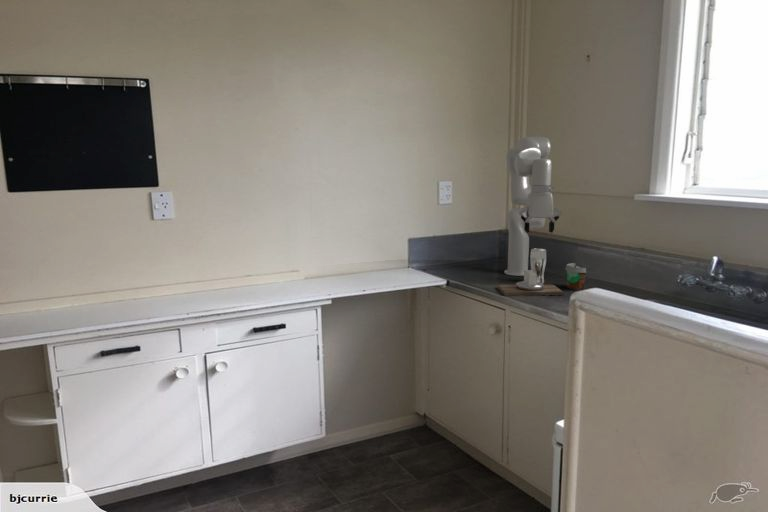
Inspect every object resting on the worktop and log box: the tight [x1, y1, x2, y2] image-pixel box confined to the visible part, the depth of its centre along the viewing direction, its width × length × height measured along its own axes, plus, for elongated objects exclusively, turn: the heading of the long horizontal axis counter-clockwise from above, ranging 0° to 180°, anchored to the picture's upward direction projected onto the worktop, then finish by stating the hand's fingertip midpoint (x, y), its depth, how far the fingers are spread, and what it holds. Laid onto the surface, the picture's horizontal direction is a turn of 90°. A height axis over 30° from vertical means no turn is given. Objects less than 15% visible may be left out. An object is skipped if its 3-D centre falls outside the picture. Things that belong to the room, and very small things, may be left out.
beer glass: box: [529, 248, 547, 284], centre depth 273 cm, size 7×7×15 cm
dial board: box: [496, 283, 565, 297], centre depth 255 cm, size 15×24×2 cm, turn 91°
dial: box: [516, 269, 545, 290], centre depth 255 cm, size 11×11×7 cm
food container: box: [565, 262, 587, 291], centre depth 261 cm, size 12×6×10 cm, turn 5°
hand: (539, 232), depth 248 cm, fingers open, 9 cm apart
